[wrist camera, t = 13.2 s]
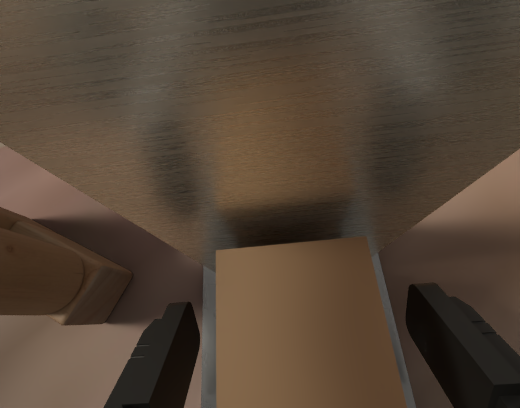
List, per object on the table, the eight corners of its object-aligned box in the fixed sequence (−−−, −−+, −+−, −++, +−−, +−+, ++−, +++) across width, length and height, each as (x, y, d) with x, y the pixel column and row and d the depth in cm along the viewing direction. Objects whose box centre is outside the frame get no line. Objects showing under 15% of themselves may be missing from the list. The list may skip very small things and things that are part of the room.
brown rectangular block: (264, 406, 14) (216, 576, 5) (256, 287, 16) (215, 250, 7) (341, 402, 14) (446, 572, 5) (322, 282, 16) (366, 236, 7)
